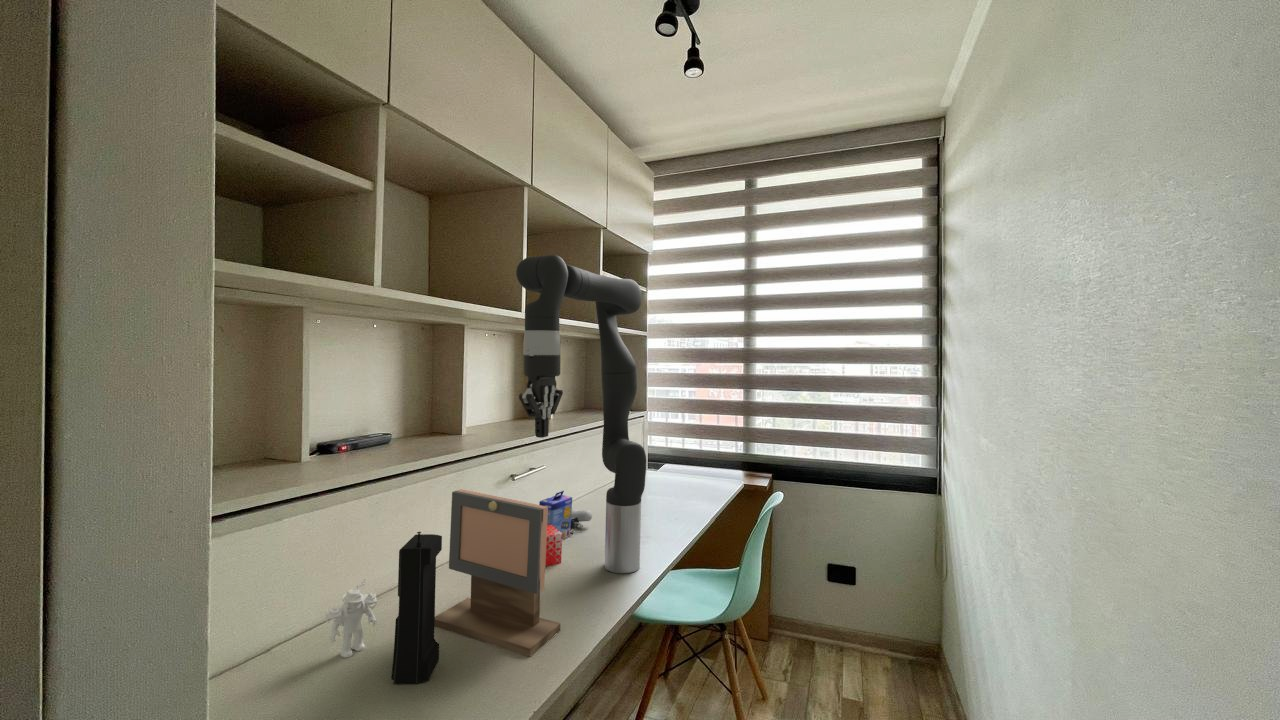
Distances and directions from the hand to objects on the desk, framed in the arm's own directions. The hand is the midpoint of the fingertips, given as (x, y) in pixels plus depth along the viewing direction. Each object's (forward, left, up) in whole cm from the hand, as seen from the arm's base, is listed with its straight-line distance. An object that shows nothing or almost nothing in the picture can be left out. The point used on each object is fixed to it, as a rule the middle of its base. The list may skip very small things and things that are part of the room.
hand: (541, 436), depth 106 cm
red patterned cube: (-27, -18, -39) cm, 50 cm away
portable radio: (+23, -9, -38) cm, 46 cm away
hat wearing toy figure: (+24, -24, -38) cm, 51 cm away
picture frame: (+7, -6, -28) cm, 30 cm away
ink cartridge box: (-42, -24, -38) cm, 62 cm away
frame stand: (+6, -6, -38) cm, 39 cm away
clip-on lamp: (-53, -28, -39) cm, 72 cm away
